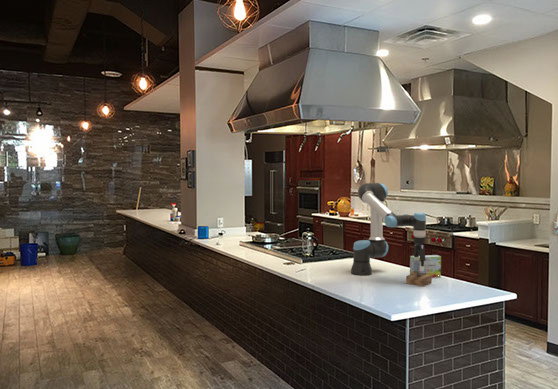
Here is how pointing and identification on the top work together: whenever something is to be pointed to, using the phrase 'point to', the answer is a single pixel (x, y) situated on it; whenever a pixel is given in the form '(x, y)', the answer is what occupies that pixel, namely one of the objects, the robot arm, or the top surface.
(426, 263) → the snack box
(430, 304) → the top surface
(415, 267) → the cap
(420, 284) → the block
